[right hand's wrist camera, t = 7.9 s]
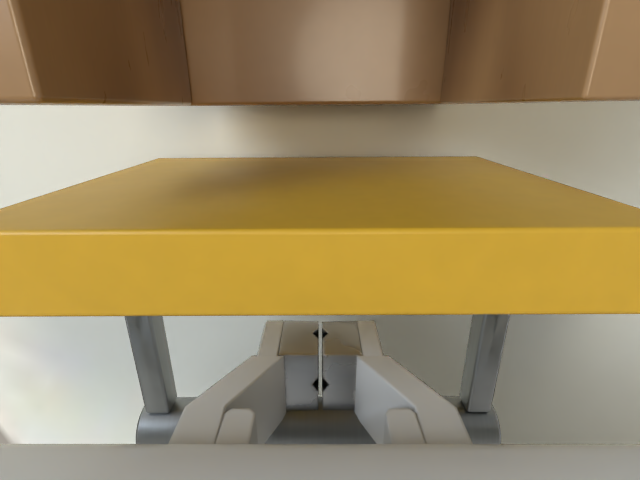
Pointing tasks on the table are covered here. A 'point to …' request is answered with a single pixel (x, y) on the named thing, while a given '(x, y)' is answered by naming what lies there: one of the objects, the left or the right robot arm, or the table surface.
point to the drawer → (318, 179)
